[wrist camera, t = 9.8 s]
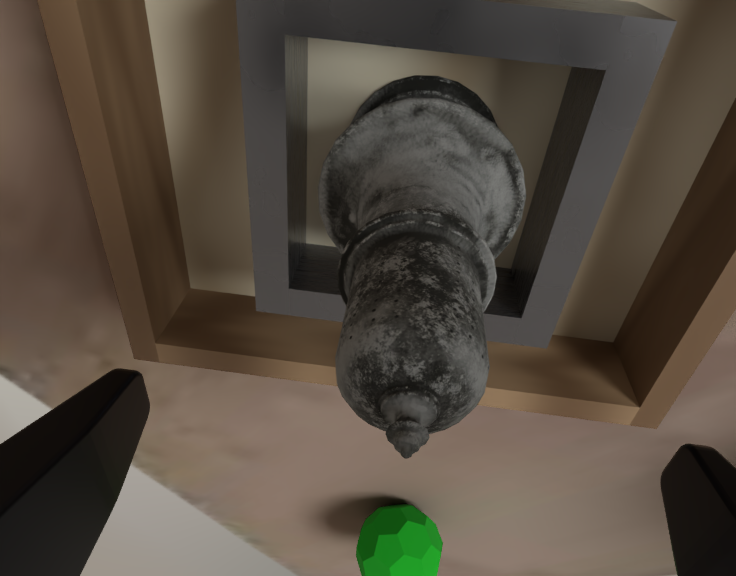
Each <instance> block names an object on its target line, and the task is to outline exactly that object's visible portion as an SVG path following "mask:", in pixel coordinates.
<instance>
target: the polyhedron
mask: <svg viewBox="0 0 736 576" xmlns="http://www.w3.org/2000/svg"><path fill="white" fill-rule="evenodd" d="M442 545H443V542H442V540H441V537H440V535H439V532H438V529H437V527H436V524H435V523H434V522H433V521H432V520H431V519H430V518H429V517H428V516H426V515H425V514H424V513H422V512H421V511H419V510H418V509H416V508H415V507H414V506H412V505H408V504H403V505H389V506H384V507H379V508H378V509H377V510H376V511H374V512H373V513H372V514H371V515H370V516H369V517H368V518H367V519H366V520H365V522H364V524H363V526H362V529H361V532H360V536H359V540H358V544H357V550H356V557H357V561H358V564H359V568H360V571H361V574H362V576H437V572H438V567H439V562H440V557H441V551H442Z"/></svg>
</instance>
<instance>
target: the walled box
mask: <svg viewBox="0 0 736 576" xmlns="http://www.w3.org/2000/svg"><path fill="white" fill-rule="evenodd" d="M620 1H629V2H637V3H639V4H641V5H643V6H646V7H648V8H650V9H652V10H654V11H656V12H658V13H661V14H663V15H665V16H667V17H669V18H671V19H674V20H676V21H677V24H676V26H675V29H674V31H673V34H672V36H671V39H670V41H669V44H668V46H667V49H666V51H665V54H664V56H663V59H662V61H661V64H660V66H659V69H658V71H657V74H656V76H655V79H654V81H653V84H652V86H651V89H650V91H649V94H648V96H647V99H646V101H645V104H644V106H643V109H642V111H641V114H640V116H639V119H638V121H637V124H636V126H635V129H634V131H633V134H632V136H631V139H630V141H629V144H628V146H627V149H626V151H625V154H624V157H623V159H622V162H621V164H620V167H619V169H618V172H617V174H616V177H615V179H614V182H613V184H612V187H611V189H610V192H609V194H608V197H607V199H606V202H605V204H604V207H603V209H602V212H601V214H600V217H599V219H598V222H597V224H596V227H595V229H594V232H593V234H592V237H591V239H590V242H589V244H588V247H587V249H586V252H585V254H584V257H583V259H582V262H581V264H580V267H579V269H578V272H577V274H576V277H575V279H574V282H573V284H572V287H571V289H570V292H569V294H568V297H567V299H566V302H565V304H564V307H563V309H562V312H561V314H560V317H559V319H558V322H557V324H556V327H555V329H554V332H553V335H552V337H551V340H550V342H549V345H548V347H547V349H546V348H538V347H530V346H522V345H515V344H507V343H499V342H491V341H487V348H488V356H489V365H490V368H489V373H488V378H487V383H486V388H485V393H484V395H483V396H482V398H481V400H480V401H479V403H478V405H482V406H489V407H497V408H504V409H512V410H519V411H527V412H534V413H542V414H549V415H557V416H564V417H572V418H579V419H587V420H594V421H602V422H609V423H617V424H624V425H631V426H639V427H646V428H654V429H657V427H658V426H659V424H660V423H661V421H662V420H663V418H664V417H665V415H666V414H667V412H668V411H669V409H670V408H671V406H672V405H673V403H674V401H675V400H676V398H677V397H678V395H679V394H680V392H681V391H682V389H683V388H684V386H685V385H686V383H687V382H688V380H689V379H690V377H691V376H692V374H693V373H694V371H695V370H696V368H697V367H698V365H699V364H700V362H701V361H702V359H703V358H704V356H705V355H706V353H707V352H708V350H709V349H710V347H711V346H712V344H713V343H714V341H715V339H716V338H717V336H718V335H719V333H720V332H721V330H722V329H723V327H724V326H725V324H726V323H727V321H728V320H729V318H730V317H731V315H732V314H733V312H734V311H735V309H736V0H620ZM37 2H38V6H39V9H40V13H41V17H42V20H43V24H44V28H45V31H46V35H47V39H48V43H49V46H50V50H51V54H52V57H53V61H54V65H55V68H56V72H57V76H58V79H59V83H60V87H61V90H62V94H63V98H64V101H65V105H66V109H67V113H68V116H69V120H70V124H71V127H72V131H73V135H74V138H75V142H76V146H77V149H78V153H79V157H80V160H81V164H82V168H83V172H84V175H85V179H86V183H87V186H88V190H89V194H90V197H91V201H92V205H93V208H94V212H95V216H96V219H97V223H98V227H99V230H100V234H101V238H102V242H103V245H104V249H105V253H106V256H107V260H108V264H109V267H110V271H111V275H112V278H113V282H114V286H115V289H116V293H117V297H118V301H119V304H120V308H121V312H122V315H123V319H124V323H125V326H126V330H127V334H128V337H129V341H130V345H131V348H132V352H133V356H134V359H138V360H146V361H153V362H161V363H168V364H175V365H183V366H190V367H198V368H205V369H213V370H220V371H228V372H235V373H243V374H250V375H258V376H265V377H273V378H280V379H288V380H295V381H303V382H310V383H318V384H325V385H332V386H338V385H337V379H336V364H335V356H336V351H337V347H338V342H339V338H340V333H341V329H342V324H343V322H337V321H329V320H321V319H314V318H306V317H298V316H290V315H283V314H275V313H267V312H260V311H256V300H255V285H254V270H253V255H252V240H251V225H250V210H249V195H248V179H247V164H246V149H245V134H244V119H243V104H242V89H241V74H240V59H239V43H238V28H237V13H236V0H37ZM571 68H572V66H563V65H554V64H545V63H536V62H527V61H517V60H508V59H499V58H490V57H481V56H472V55H463V54H454V53H445V52H436V51H427V50H418V49H409V48H399V47H390V46H381V45H372V44H363V43H354V42H345V41H336V40H327V39H318V38H309V37H308V87H307V200H306V243H309V244H317V245H325V246H333V247H336V246H335V244H334V243H333V241H332V240H331V238H330V237H329V236H328V234H327V231H326V229H325V226H324V223H323V220H322V218H321V215H320V212H319V200H318V184H319V179H320V174H321V170H322V165H323V162H324V160H325V158H326V157H327V155H328V153H329V151H330V149H331V147H332V146H333V144H334V142H335V140H336V139H337V138H338V137H339V136H340V135H341V134H342V133H343V132H344V131H345V130H346V128H347V127H348V126H349V125H350V124H351V122H352V120H353V118H354V116H355V115H356V113H357V111H358V109H359V107H360V106H361V105H362V104H363V103H364V102H365V101H366V100H367V99H368V98H369V97H370V96H371V95H372V94H373V93H374V92H375V91H377V90H379V89H380V88H382V87H384V86H386V85H387V84H389V83H391V82H392V81H395V80H399V79H403V78H406V77H410V76H414V75H429V76H440V77H444V78H447V79H450V80H453V81H457V82H459V83H461V84H462V85H464V86H465V87H467V88H469V89H470V90H472V91H473V92H475V93H476V94H477V95H478V96H479V97H480V98H481V99H482V101H483V102H484V103H485V104H486V105H487V106H488V108H489V109H490V110H491V112H492V114H493V117H494V119H495V121H496V123H497V126H498V128H499V129H500V131H501V132H502V133H503V134H504V135H505V136H506V137H507V139H508V140H509V141H510V142H511V143H512V145H513V147H514V149H515V152H516V154H517V156H518V159H519V161H520V163H521V165H522V168H523V172H524V181H525V190H526V199H525V204H524V209H523V215H522V220H521V222H520V224H519V226H518V228H517V230H516V232H515V234H514V236H513V238H512V240H511V242H510V243H509V244H508V245H507V247H506V248H505V249H504V250H503V251H502V252H501V253H500V254H499V255H498V257H497V258H496V259H495V260H494V261H495V267H502V268H510V269H511V267H512V263H513V260H514V257H515V254H516V250H517V247H518V244H519V240H520V237H521V234H522V230H523V227H524V224H525V220H526V217H527V214H528V211H529V207H530V204H531V201H532V197H533V194H534V191H535V187H536V184H537V181H538V177H539V174H540V171H541V167H542V164H543V161H544V158H545V154H546V151H547V148H548V144H549V141H550V138H551V134H552V131H553V128H554V124H555V121H556V118H557V114H558V111H559V108H560V105H561V101H562V98H563V95H564V91H565V88H566V85H567V81H568V78H569V75H570V71H571Z"/></svg>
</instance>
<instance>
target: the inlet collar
mask: <svg viewBox="0 0 736 576" xmlns="http://www.w3.org/2000/svg"><path fill="white" fill-rule="evenodd" d="M236 13H237V28H238V43H239V59H240V74H241V89H242V104H243V119H244V134H245V149H246V164H247V179H248V195H249V210H250V225H251V240H252V255H253V270H254V285H255V300H256V311H260V312H267V313H275V314H283V315H290V316H298V317H306V318H314V319H321V320H329V321H337V322H343V320H344V315H345V311H346V305H345V304H344V302H343V300H342V297H341V294H340V291H339V288H338V277H337V269H338V265H339V262H340V258H341V253H340V251H339V250H338V248H337V247H333V246H325V245H317V244H309V243H306V200H307V87H308V37H309V38H318V39H327V40H336V41H345V42H354V43H363V44H372V45H381V46H390V47H399V48H409V49H418V50H427V51H436V52H445V53H454V54H463V55H472V56H481V57H490V58H499V59H508V60H517V61H527V62H536V63H545V64H554V65H563V66H572V68H571V71H570V75H569V78H568V81H567V85H566V88H565V91H564V95H563V98H562V101H561V105H560V108H559V111H558V114H557V118H556V121H555V124H554V128H553V131H552V134H551V138H550V141H549V144H548V148H547V151H546V154H545V158H544V161H543V164H542V167H541V171H540V174H539V177H538V181H537V184H536V187H535V191H534V194H533V197H532V201H531V204H530V207H529V211H528V214H527V217H526V220H525V224H524V227H523V230H522V234H521V237H520V240H519V244H518V247H517V250H516V254H515V257H514V260H513V263H512V267H511V269H510V268H502V267H495V268H496V275H497V279H496V285H495V290H494V295H493V297H492V299H491V301H490V303H489V304H488V306H487V308H486V310H485V311H484V312H483V315H484V324H485V332H486V340H487V341H491V342H499V343H507V344H515V345H522V346H530V347H538V348H546V349H547V347H548V345H549V342H550V340H551V337H552V335H553V332H554V329H555V327H556V324H557V322H558V319H559V317H560V314H561V312H562V309H563V307H564V304H565V302H566V299H567V297H568V294H569V292H570V289H571V287H572V284H573V282H574V279H575V277H576V274H577V272H578V269H579V267H580V264H581V262H582V259H583V257H584V254H585V252H586V249H587V247H588V244H589V242H590V239H591V237H592V234H593V232H594V229H595V227H596V224H597V222H598V219H599V217H600V214H601V212H602V209H603V207H604V204H605V202H606V199H607V197H608V194H609V192H610V189H611V187H612V184H613V182H614V179H615V177H616V174H617V172H618V169H619V167H620V164H621V162H622V159H623V157H624V154H625V151H626V149H627V146H628V144H629V141H630V139H631V136H632V134H633V131H634V129H635V126H636V124H637V121H638V119H639V116H640V114H641V111H642V109H643V106H644V104H645V101H646V99H647V96H648V94H649V91H650V89H651V86H652V84H653V81H654V79H655V76H656V74H657V71H658V69H659V66H660V64H661V61H662V59H663V56H664V54H665V51H666V49H667V46H668V44H669V41H670V39H671V36H672V34H673V31H674V29H675V26H676V24H677V21H676V20H674V19H671V18H669V17H667V16H665V15H663V14H661V13H658V12H656V11H654V10H652V9H650V8H648V7H646V6H643V5H641V4H639V3H637V2H629V1H620V0H236Z"/></svg>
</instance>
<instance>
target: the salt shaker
mask: <svg viewBox="0 0 736 576" xmlns="http://www.w3.org/2000/svg"><path fill="white" fill-rule="evenodd" d="M525 199H526V190H525V181H524V172H523V168H522V165H521V163H520V161H519V159H518V156H517V154H516V152H515V149H514V147H513V145H512V143H511V142H510V141H509V140H508V139H507V137H506V136H505V135H504V134H503V133H502V132H501V131H500V129H499V128H498V126H497V123H496V121H495V119H494V117H493V114H492V112H491V110H490V109H489V108H488V106H487V105H486V104H485V103H484V102H483V101H482V99H481V98H480V97H479V96H478V95H477V94H476V93H475V92H473V91H472V90H470V89H469V88H467V87H465V86H464V85H462V84H461V83H459V82H457V81H453V80H450V79H447V78H444V77H440V76H429V75H414V76H410V77H406V78H403V79H399V80H395V81H392V82H391V83H389V84H387V85H386V86H384V87H382V88H380V89H379V90H377V91H375V92H374V93H373V94H372V95H371V96H370V97H369V98H368V99H367V100H366V101H365V102H364V103H363V104H362V105H361V106H360V107H359V109H358V111H357V113H356V115H355V116H354V118H353V120H352V122H351V124H350V125H349V126H348V127H347V128H346V130H345V131H344V132H343V133H342V134H341V135H340V136H339V137H338V138H337V139H336V140H335V142H334V144H333V146H332V147H331V149H330V151H329V153H328V155H327V157H326V158H325V160H324V162H323V165H322V170H321V174H320V179H319V184H318V200H319V212H320V215H321V218H322V220H323V223H324V226H325V229H326V231H327V234H328V236H329V237H330V238H331V240H332V241H333V243H334V244H335V246H336V247H337V248H338V250H339V251H340V253H341V258H340V262H339V265H338V269H337V277H338V288H339V291H340V294H341V297H342V300H343V302H344V304H345V305H346V311H345V315H344V320H343V324H342V329H341V333H340V338H339V342H338V347H337V351H336V356H335V364H336V379H337V385H338V387H339V390H340V392H341V395H342V397H343V398H344V399H345V401H346V402H347V403H348V404H349V406H350V407H351V408H352V409H353V410H354V412H355V413H356V414H357V415H358V416H359V417H360V418H362V419H363V420H364V421H366V422H367V423H368V424H370V425H372V426H374V427H377V428H379V429H381V430H383V431H386V436H387V439H388V441H389V442H390V443H392V444H393V445H394V447H395V449H396V450H397V451H398V452H400V453H401V456H402V457H404V458H409V457H411V456H412V454H413V453H415V452H417V451H418V450H419V448H420V447H421V446H423V445H425V444H426V442H427V441H428V439H429V434H432V433H435V432H439V431H442V430H445V429H447V428H449V427H451V426H453V425H455V424H457V423H459V422H460V421H461V420H462V419H463V418H464V417H465V416H466V415H467V414H469V413H470V412H471V411H472V410H473V409H474V408H475V407H476V406H477V405H478V403H479V401H480V400H481V398H482V396H483V395H484V393H485V388H486V383H487V378H488V373H489V368H490V365H489V356H488V348H487V340H486V332H485V324H484V315H483V312H484V311H485V310H486V308H487V306H488V304H489V303H490V301H491V299H492V297H493V295H494V290H495V285H496V279H497V275H496V268H495V261H494V260H495V259H496V258H497V257H498V255H499V254H500V253H501V252H502V251H503V250H504V249H505V248H506V247H507V245H508V244H509V243H510V242H511V240H512V238H513V236H514V234H515V232H516V230H517V228H518V226H519V224H520V222H521V220H522V215H523V209H524V204H525Z"/></svg>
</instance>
